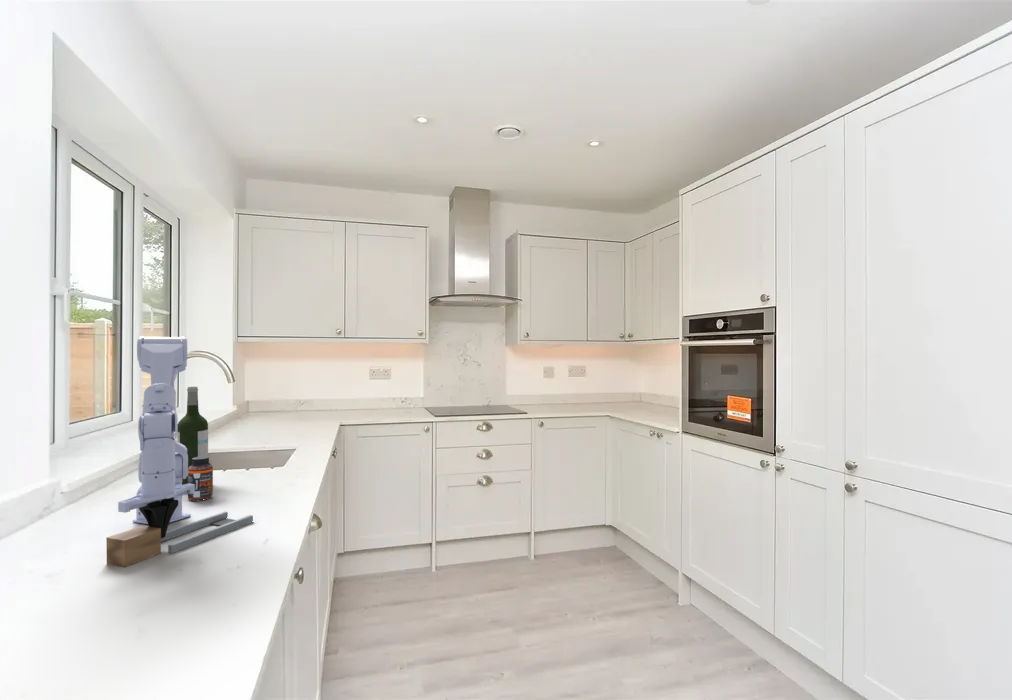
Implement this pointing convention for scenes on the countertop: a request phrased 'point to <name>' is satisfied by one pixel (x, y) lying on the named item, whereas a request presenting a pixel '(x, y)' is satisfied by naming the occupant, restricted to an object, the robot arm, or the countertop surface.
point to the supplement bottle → (201, 478)
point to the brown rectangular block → (133, 546)
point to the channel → (212, 520)
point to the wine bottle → (193, 430)
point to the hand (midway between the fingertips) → (158, 537)
